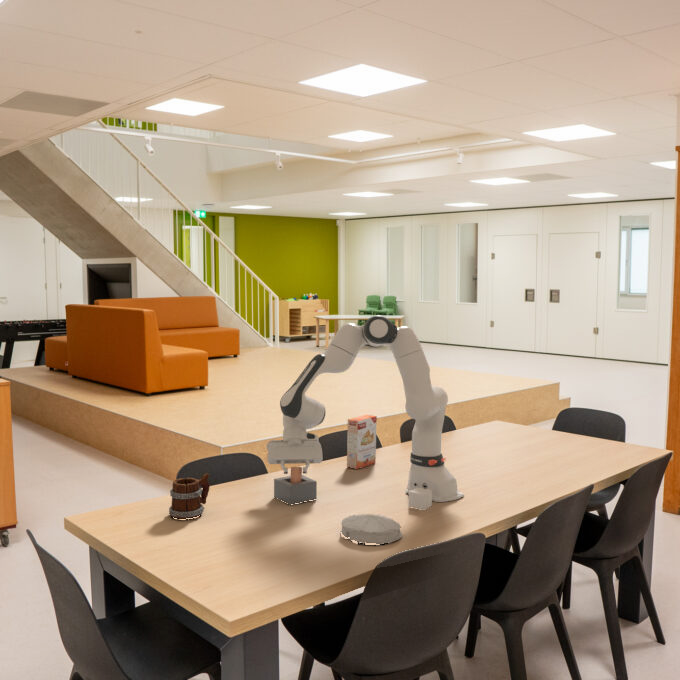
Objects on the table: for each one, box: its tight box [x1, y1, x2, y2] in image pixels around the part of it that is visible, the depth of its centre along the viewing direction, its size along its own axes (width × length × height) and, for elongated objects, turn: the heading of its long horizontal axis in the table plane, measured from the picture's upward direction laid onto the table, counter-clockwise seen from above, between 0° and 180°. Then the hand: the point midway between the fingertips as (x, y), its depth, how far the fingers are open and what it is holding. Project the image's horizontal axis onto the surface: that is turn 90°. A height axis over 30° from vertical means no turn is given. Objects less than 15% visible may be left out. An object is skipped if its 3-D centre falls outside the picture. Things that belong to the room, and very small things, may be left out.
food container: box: [340, 513, 403, 544], centre depth 224 cm, size 20×20×7 cm
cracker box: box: [346, 414, 378, 470], centre depth 303 cm, size 14×6×21 cm, turn 143°
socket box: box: [273, 474, 318, 506], centre depth 258 cm, size 11×11×7 cm
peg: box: [290, 466, 303, 484], centre depth 259 cm, size 4×4×10 cm
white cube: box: [408, 487, 433, 511], centre depth 250 cm, size 6×6×6 cm
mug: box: [168, 472, 211, 519], centre depth 241 cm, size 12×14×15 cm
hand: (295, 472), depth 257 cm, fingers open, 5 cm apart
